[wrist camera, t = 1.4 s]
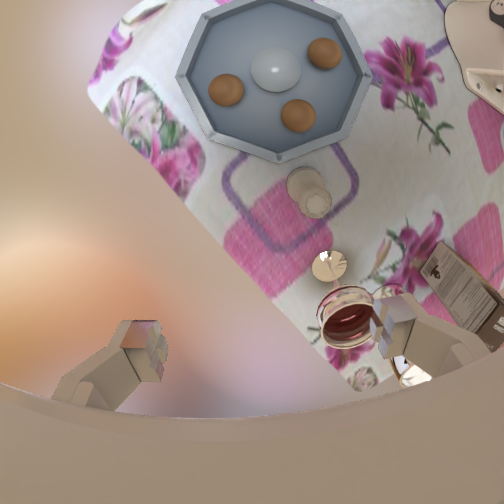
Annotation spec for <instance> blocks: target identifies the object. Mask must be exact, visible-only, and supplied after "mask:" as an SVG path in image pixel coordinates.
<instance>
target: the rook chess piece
mask: <svg viewBox="0 0 504 504" xmlns="http://www.w3.org/2000/svg"><path fill="white" fill-rule="evenodd" d="M286 187H287V192H288V193H289V195H290V197H291V199H293V200H294V201H295V202H296V203H298V204H299V209H300V211H301V213H302V214H304V215H305V216H306V217H309V218H312V219H315V218H322V217H324V216H325V215H326V214H327V213H328V212H329V210H330V208H331V205H332V198H331V196H330V194H329V192H328V191H327V190H326V189H325V187H324V181H323V179H322V176H321V175H320V173H319V172H318V171H316V170H315V169H313V168H310V167H299V168H297V169H295V170H293V171H292V173H291V174H290V175H289V176H288V179H287V182H286Z"/></svg>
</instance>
